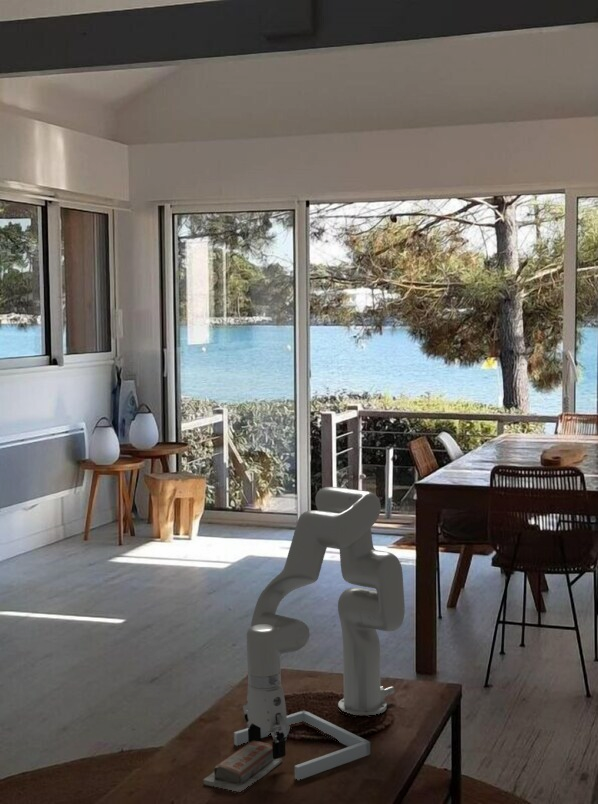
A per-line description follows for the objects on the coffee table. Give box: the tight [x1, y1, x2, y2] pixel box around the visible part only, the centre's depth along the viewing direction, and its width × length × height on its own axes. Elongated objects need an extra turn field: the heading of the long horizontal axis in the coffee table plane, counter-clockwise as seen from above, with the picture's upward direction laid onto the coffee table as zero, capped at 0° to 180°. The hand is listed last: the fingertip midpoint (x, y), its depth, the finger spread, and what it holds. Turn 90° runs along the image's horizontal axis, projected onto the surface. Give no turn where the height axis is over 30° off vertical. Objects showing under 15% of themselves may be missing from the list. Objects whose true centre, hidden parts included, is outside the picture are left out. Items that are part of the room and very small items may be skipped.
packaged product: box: [203, 741, 283, 792], centre depth 254 cm, size 18×5×10 cm
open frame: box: [233, 710, 371, 781], centre depth 266 cm, size 21×25×3 cm
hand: (266, 750), depth 260 cm, fingers open, 9 cm apart
